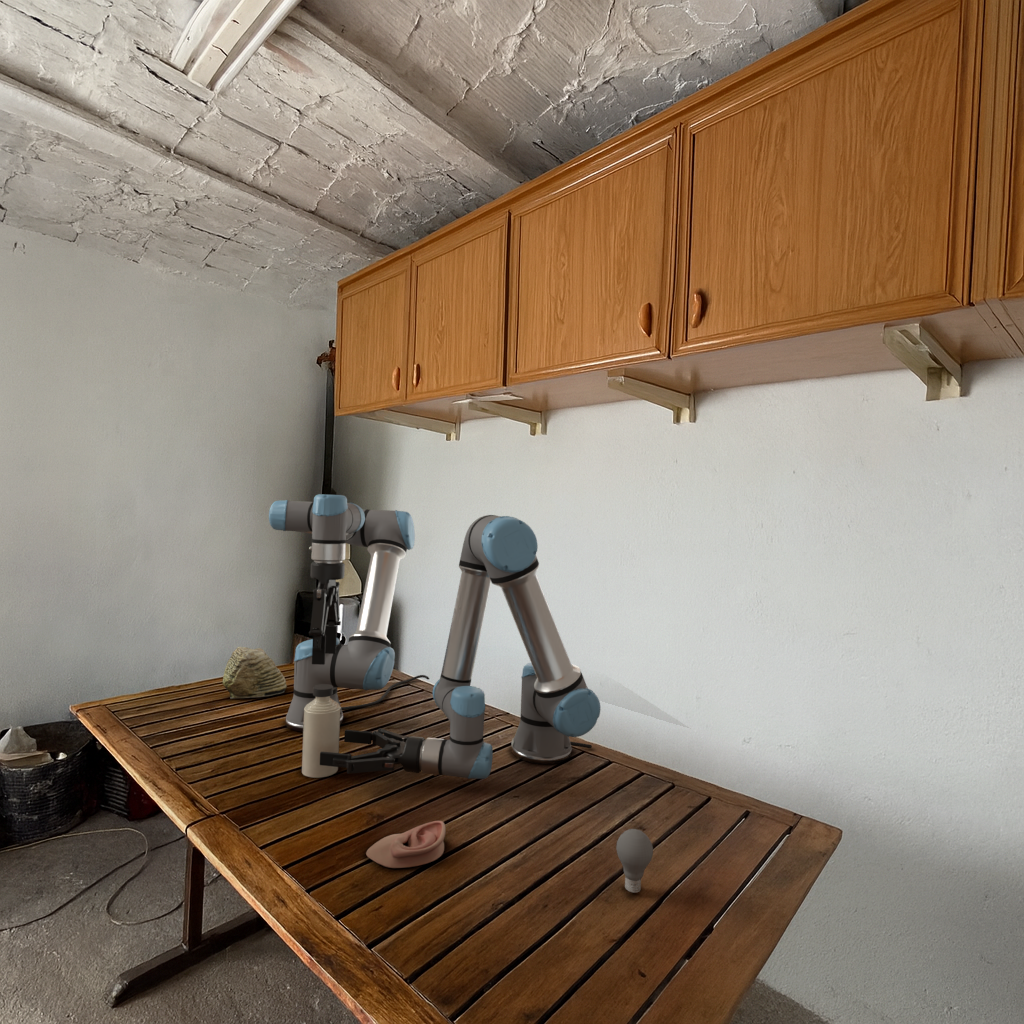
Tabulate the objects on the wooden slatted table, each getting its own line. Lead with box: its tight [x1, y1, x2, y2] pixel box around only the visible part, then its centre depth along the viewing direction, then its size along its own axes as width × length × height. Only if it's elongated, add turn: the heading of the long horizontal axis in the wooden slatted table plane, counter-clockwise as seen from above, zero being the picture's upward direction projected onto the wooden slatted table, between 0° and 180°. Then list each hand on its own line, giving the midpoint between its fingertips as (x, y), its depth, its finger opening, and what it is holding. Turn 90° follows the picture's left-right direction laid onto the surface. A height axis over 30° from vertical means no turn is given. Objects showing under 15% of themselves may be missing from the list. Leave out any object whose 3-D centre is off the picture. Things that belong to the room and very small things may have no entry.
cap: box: [313, 684, 333, 697], centre depth 146 cm, size 4×4×2 cm
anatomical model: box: [365, 820, 447, 869], centre depth 114 cm, size 13×4×12 cm
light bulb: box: [615, 828, 654, 894], centre depth 106 cm, size 6×6×10 cm
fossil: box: [222, 646, 288, 699], centre depth 198 cm, size 9×18×15 cm, turn 132°
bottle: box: [301, 696, 342, 779], centre depth 146 cm, size 8×8×19 cm
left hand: (324, 658), depth 146 cm, fingers open, 9 cm apart
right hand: (333, 746), depth 145 cm, fingers open, 13 cm apart
